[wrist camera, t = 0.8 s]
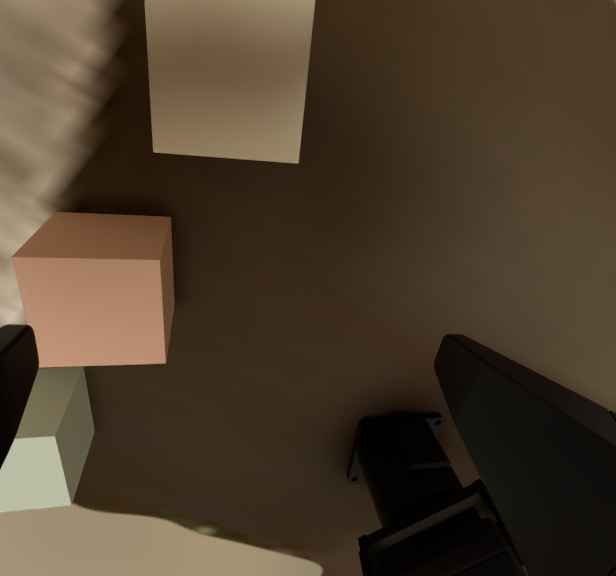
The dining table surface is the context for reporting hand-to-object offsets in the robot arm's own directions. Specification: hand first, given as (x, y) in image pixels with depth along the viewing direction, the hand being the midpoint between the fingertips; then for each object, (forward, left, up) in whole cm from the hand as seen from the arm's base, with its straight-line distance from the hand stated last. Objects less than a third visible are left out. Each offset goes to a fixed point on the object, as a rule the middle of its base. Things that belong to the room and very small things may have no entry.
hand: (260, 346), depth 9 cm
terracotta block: (-4, +6, -13) cm, 14 cm away
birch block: (+5, +1, -13) cm, 14 cm away
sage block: (-13, +11, -13) cm, 21 cm away
